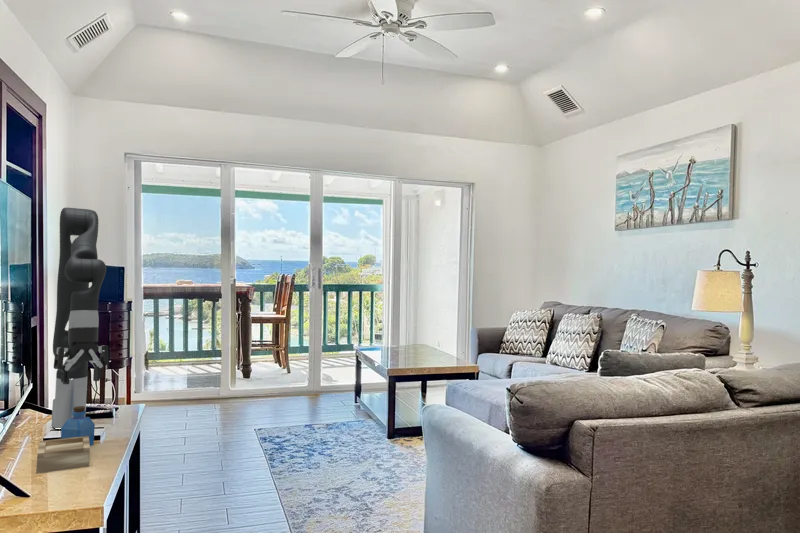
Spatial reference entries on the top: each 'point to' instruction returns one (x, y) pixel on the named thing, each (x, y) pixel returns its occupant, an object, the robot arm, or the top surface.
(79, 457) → the square tray
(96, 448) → the top surface
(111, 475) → the top surface
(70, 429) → the perfume bottle
